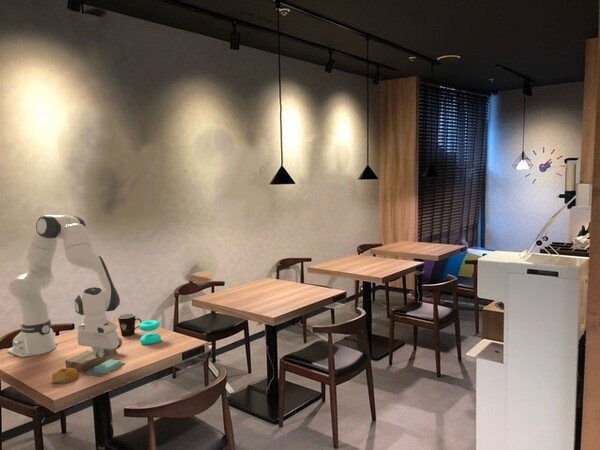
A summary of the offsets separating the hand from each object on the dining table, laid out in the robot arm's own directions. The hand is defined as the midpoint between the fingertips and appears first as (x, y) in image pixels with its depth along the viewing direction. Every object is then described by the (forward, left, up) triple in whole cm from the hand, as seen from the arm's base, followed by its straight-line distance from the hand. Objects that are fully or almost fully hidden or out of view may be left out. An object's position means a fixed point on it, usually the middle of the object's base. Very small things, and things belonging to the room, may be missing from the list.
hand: (99, 356), depth 206 cm
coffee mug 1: (-10, +14, -5) cm, 18 cm away
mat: (+2, 0, -5) cm, 6 cm away
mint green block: (+5, 0, -3) cm, 5 cm away
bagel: (-5, -13, -6) cm, 15 cm away
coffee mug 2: (-19, +38, -5) cm, 43 cm away
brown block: (-8, 0, -5) cm, 9 cm away
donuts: (-1, +33, -5) cm, 33 cm away
